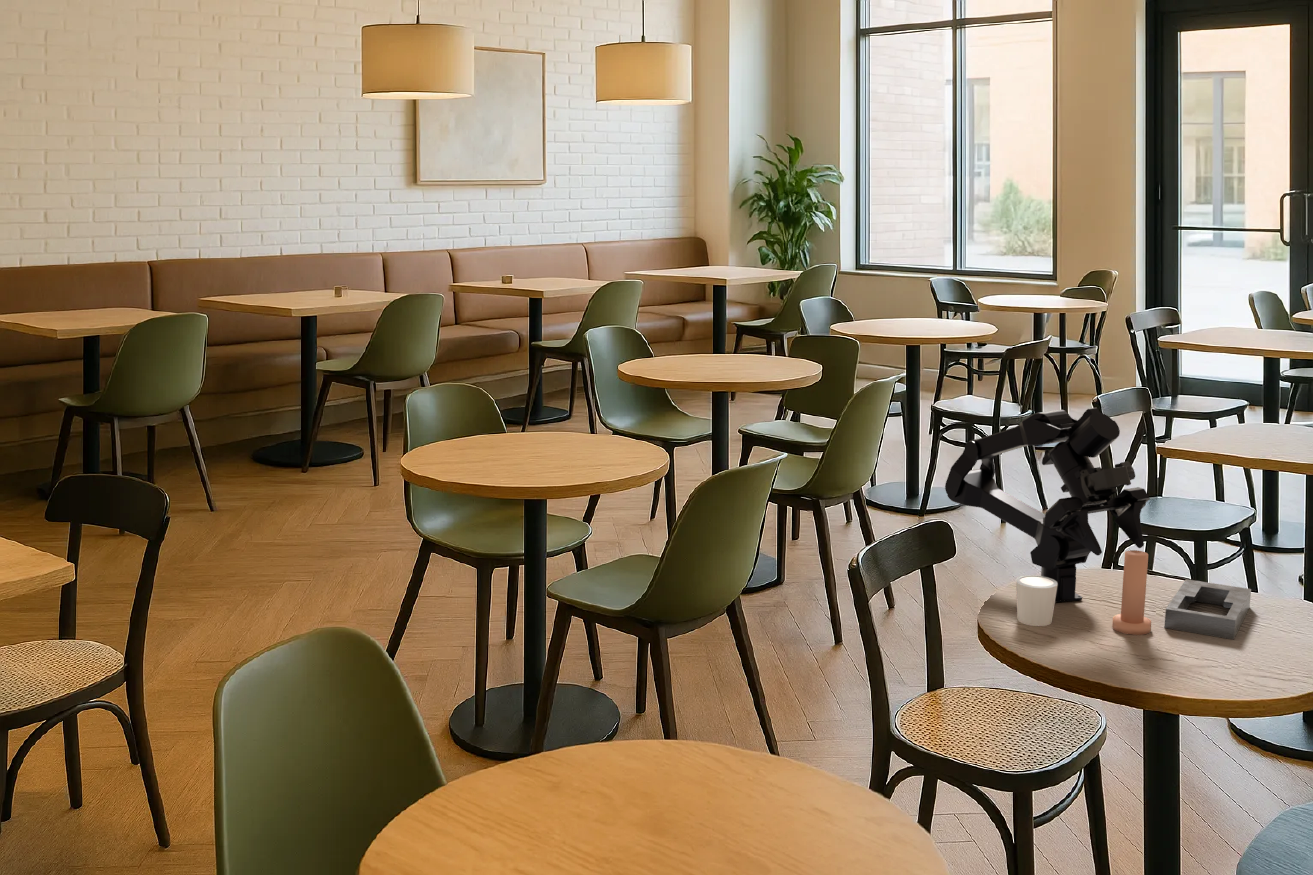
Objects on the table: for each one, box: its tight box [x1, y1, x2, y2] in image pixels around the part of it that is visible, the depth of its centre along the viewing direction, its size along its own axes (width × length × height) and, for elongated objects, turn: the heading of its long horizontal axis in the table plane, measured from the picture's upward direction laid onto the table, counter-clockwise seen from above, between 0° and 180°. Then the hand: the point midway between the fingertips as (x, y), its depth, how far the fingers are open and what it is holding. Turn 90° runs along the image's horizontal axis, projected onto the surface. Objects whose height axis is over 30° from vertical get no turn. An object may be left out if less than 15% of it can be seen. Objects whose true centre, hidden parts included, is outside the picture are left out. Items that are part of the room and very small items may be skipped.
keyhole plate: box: [1164, 579, 1252, 640], centre depth 209 cm, size 18×11×3 cm, turn 147°
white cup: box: [1015, 575, 1058, 627], centre depth 208 cm, size 7×7×7 cm
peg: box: [1111, 549, 1152, 636], centre depth 203 cm, size 6×6×13 cm
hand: (1120, 550), depth 206 cm, fingers open, 9 cm apart
